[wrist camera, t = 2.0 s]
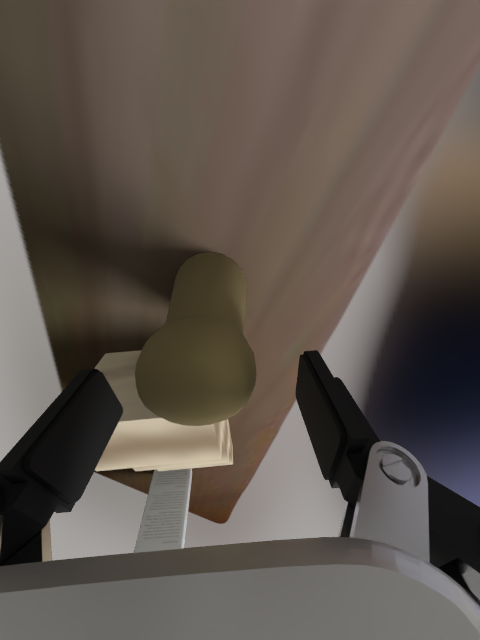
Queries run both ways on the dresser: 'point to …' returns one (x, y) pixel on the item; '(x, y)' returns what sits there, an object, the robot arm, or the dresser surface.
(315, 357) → the robot arm
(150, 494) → the skincare box
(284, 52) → the dresser surface
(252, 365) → the cork
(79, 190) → the dresser surface
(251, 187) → the dresser surface
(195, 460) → the step stand
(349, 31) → the dresser surface
